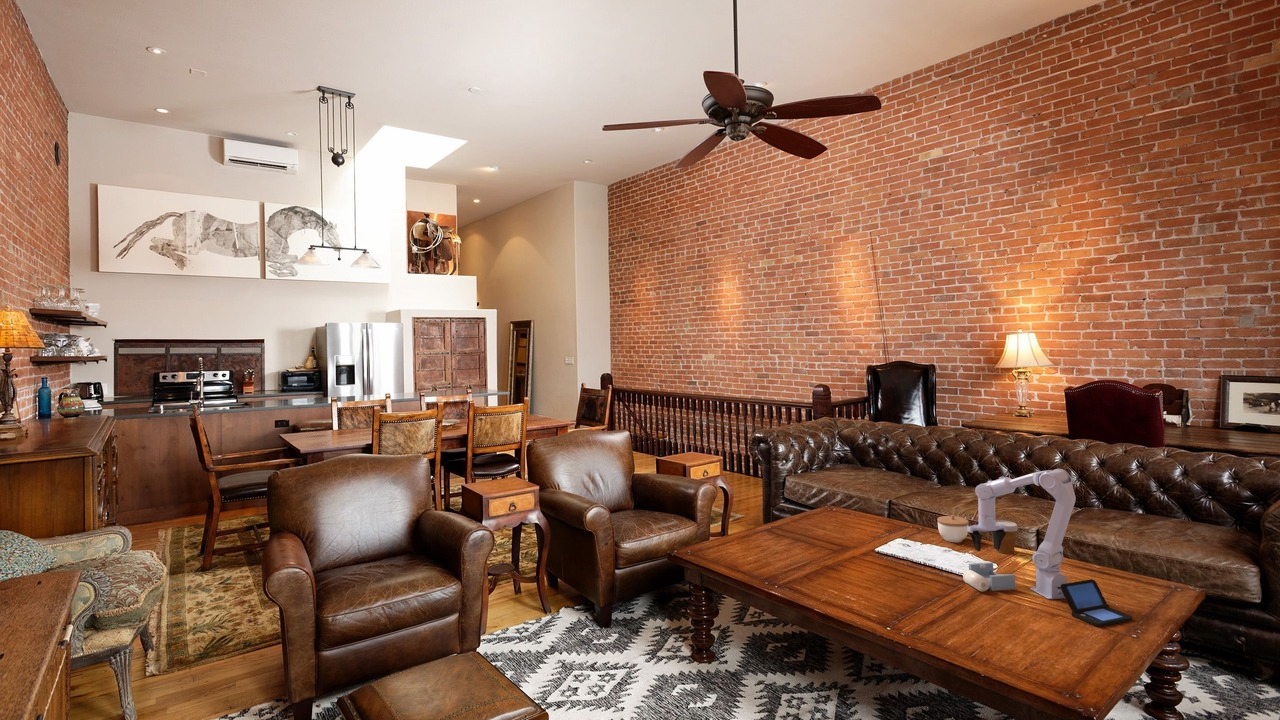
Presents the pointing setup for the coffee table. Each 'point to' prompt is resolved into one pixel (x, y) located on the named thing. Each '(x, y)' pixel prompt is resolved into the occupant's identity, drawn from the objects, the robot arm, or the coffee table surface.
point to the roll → (976, 580)
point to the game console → (1091, 604)
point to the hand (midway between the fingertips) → (987, 549)
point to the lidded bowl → (953, 528)
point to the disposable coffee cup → (1008, 537)
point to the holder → (994, 576)
